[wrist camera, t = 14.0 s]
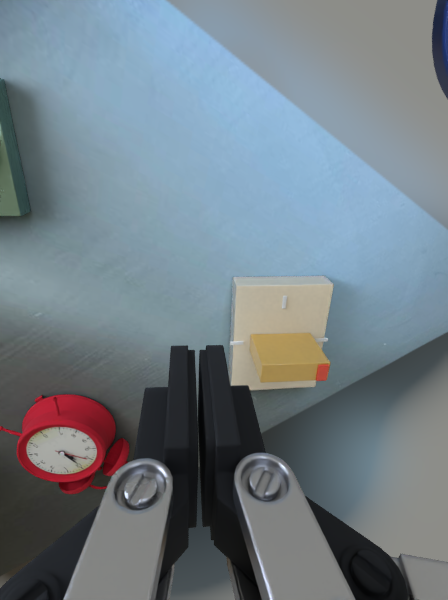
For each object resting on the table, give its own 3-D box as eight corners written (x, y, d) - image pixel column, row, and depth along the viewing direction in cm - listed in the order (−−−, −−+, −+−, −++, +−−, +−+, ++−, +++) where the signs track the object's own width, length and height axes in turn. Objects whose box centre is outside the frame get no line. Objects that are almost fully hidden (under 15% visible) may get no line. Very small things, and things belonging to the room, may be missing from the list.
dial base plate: (229, 276, 35) (233, 286, 33) (327, 275, 37) (338, 284, 34) (225, 378, 41) (228, 392, 38) (310, 373, 42) (318, 387, 40)
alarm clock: (61, 392, 34) (141, 499, 38) (85, 366, 41) (152, 459, 44) (-20, 437, 36) (64, 537, 39) (15, 405, 42) (85, 493, 45)
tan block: (249, 350, 36) (260, 384, 31) (250, 334, 36) (262, 366, 30) (307, 348, 37) (328, 381, 32) (310, 332, 36) (331, 364, 31)
